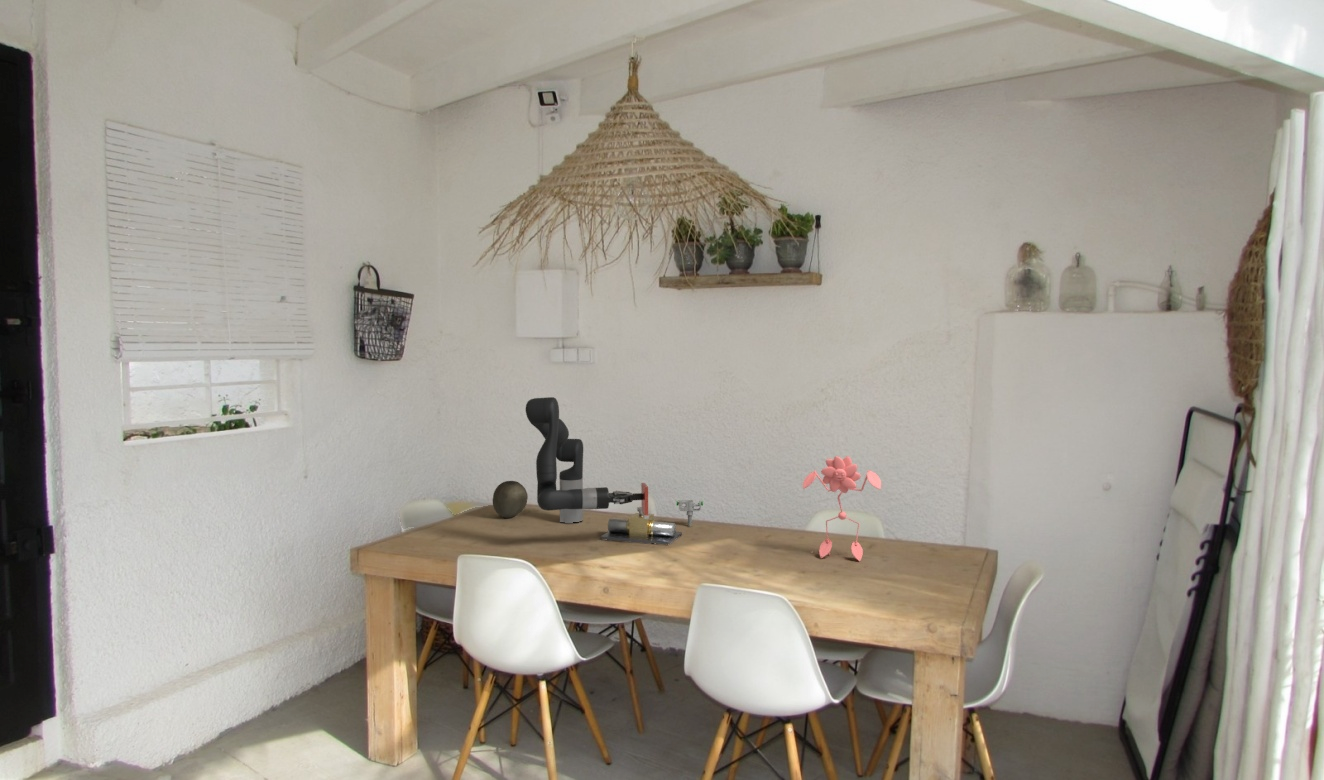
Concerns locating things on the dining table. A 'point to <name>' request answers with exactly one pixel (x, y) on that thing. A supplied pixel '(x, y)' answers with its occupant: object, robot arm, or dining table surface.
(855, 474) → the flower figure
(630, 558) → the dining table surface
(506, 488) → the kiwi fruit
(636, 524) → the valve stand
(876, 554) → the dining table surface
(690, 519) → the mechanical component
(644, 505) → the valve lever
